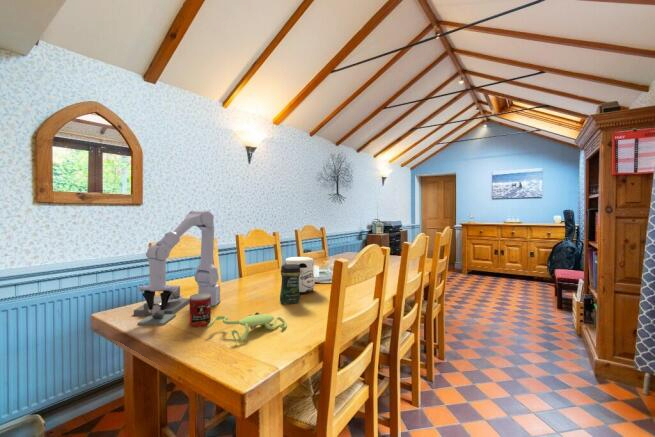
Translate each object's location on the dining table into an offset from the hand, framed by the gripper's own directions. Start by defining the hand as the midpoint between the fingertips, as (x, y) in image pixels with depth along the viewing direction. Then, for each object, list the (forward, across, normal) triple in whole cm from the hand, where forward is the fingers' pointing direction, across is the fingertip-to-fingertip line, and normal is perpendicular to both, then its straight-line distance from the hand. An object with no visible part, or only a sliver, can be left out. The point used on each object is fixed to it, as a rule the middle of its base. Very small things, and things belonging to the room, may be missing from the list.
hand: (157, 309), depth 125 cm
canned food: (+5, +18, -3) cm, 19 cm away
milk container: (+5, +53, +47) cm, 71 cm away
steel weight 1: (+3, 0, 0) cm, 3 cm away
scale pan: (+1, -5, +16) cm, 17 cm away
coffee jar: (+5, +50, +27) cm, 57 cm away
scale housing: (+4, -5, +15) cm, 16 cm away
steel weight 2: (0, -1, +16) cm, 16 cm away
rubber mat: (+4, 0, 0) cm, 4 cm away
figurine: (+5, +38, -9) cm, 39 cm away
